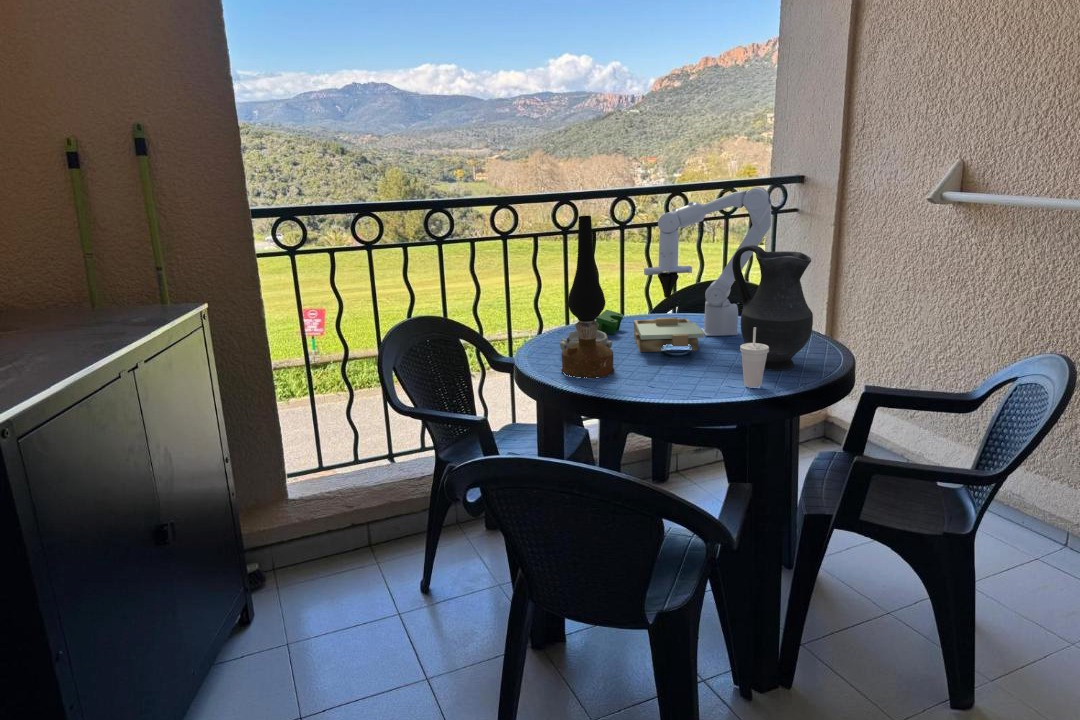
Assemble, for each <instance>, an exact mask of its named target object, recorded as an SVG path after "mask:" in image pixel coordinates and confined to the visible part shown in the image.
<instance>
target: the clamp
mask: <svg viewBox="0 0 1080 720" xmlns="http://www.w3.org/2000/svg"><path fill="white" fill-rule="evenodd" d="M623 318H624V314H622V313H620V312H616V311H614V310H610V309H606V310H605V309H604V310H603V311H602V312H601V314H600V315H599V316H598V317H596V319H595V321H596V322H597V323H598V324H599V327H598V329H597V330H598V331H602V332H604V333H606V334H607V333H608V334H610V335H616V331H619V330H620V327H621V323H622V321H623Z"/></svg>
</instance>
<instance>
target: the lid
mask: <svg viewBox="0 0 1080 720" xmlns="http://www.w3.org/2000/svg"><path fill="white" fill-rule="evenodd" d="M678 319H679V318H678V317H676V316H675V317H655V320H656V323H653V324H636V328H637V331H638V333H639V336H640V338H641V340H644V339H672V345H673V346H688V338H697V339H703V338H704V337H705V334H704V333H703V332H702V330H701V328H700V326H699V325H698V324H697V323H696V322H695V321H694V322H693V321H692V322H691V321H690V322H687V323H678Z"/></svg>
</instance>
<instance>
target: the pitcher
mask: <svg viewBox="0 0 1080 720" xmlns="http://www.w3.org/2000/svg"><path fill="white" fill-rule="evenodd" d="M746 251H753V254H754V253H755V258H756V261H757V262H758V265H759V270H760V280H759V281H760V282H759V284H758V287H757V289H756V291H755V294H754V295H753V297H752V296H751V293H750V291H749V287H748V285H747V283H746V279H745V277H744V275H743V269H742V270H741V266H740V260H741V255H742V254H743V253H744V252H746ZM735 252H736V251H735ZM735 252H734V253H735ZM733 255H734V254H733ZM811 262H812V258H811V257H810V256H809V255H807V254H805V253H803V252H801V251H789V250H788V251H766V250H764V248H762V247H761V246H759V245H758V246H755V245H750V246H744V247H742V248H740V249H739V250H738V251H737V252H736V253H735V255H734V258H733V263H732V268H733V274H734V278H735V281H734V282H735V284H736V286H737V290H738V294H739V296H740V299H741V302H742V311H741V313H740V314H741V315H740V333H741V337H742V339H743V342H744V344H746V343H753V329H754V327H756V339H755V343H760V344H765V345H767V346H769V352H768V353H767V357H766V362H765V368H764V370H766V369H771V370H770V371H786V370H785V369H787V370H790V369H792V368H794V366H795V363H794V361H793V357H795V355H796V354H797V353H798V352H800V351H801V350H802V349H803V348H804V347H805V346H806V345H807V344H808V342H809V340H810V338H811V335H812V332H813V325H814V315H813V314H814V313H813V311H812V310H811V308H810V307H809V305H808V303H807V302H806V298H805V295H804V291H803V287H802V283H801V278H802V276H803V275H804V273H805V271H806V270H807V269H808V267H809V266H810V263H811Z"/></svg>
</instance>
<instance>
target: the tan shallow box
mask: <svg viewBox="0 0 1080 720" xmlns="http://www.w3.org/2000/svg"><path fill="white" fill-rule="evenodd" d="M687 322H691V321H690V320H689V319H688V318H678V323H687ZM653 323H656V319H634V320H633V337H634V340H635V343H636V345H637V348H638V350H639V352H640V353H644V352H645V353H648V352H649V353H651V352H662V351H661V348H662V346H663V345H666V344H672V339H644V340H636V338H635V333H638V331H637V328H636V324H653ZM688 344H690V345H691V347H692V350H691V351H698V350H699V349H698V348H699V345H698V344H699V338H688Z"/></svg>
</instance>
